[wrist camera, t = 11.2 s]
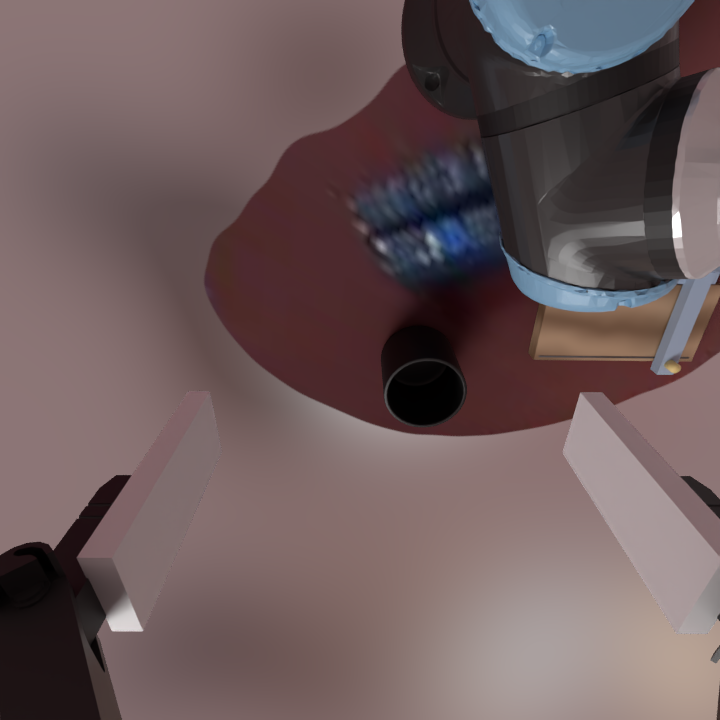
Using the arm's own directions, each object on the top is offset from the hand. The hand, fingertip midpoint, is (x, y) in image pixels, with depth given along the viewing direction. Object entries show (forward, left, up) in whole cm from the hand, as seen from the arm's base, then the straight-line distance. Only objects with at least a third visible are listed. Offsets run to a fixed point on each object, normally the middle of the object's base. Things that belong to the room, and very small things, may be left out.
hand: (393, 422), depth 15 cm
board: (+11, +31, -37) cm, 49 cm away
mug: (+18, +7, -37) cm, 42 cm away
